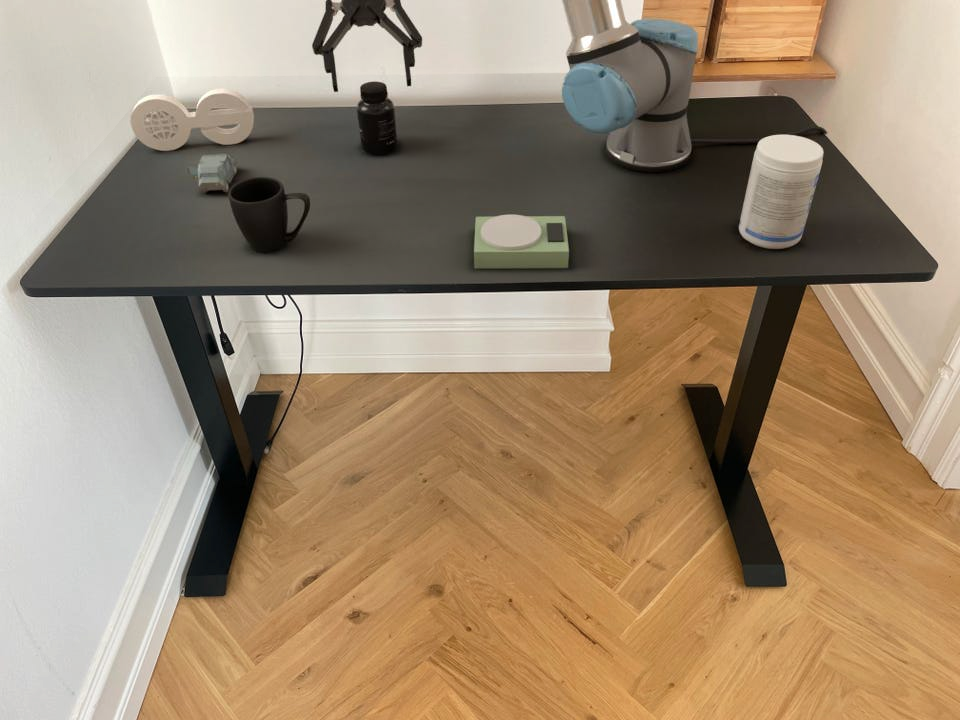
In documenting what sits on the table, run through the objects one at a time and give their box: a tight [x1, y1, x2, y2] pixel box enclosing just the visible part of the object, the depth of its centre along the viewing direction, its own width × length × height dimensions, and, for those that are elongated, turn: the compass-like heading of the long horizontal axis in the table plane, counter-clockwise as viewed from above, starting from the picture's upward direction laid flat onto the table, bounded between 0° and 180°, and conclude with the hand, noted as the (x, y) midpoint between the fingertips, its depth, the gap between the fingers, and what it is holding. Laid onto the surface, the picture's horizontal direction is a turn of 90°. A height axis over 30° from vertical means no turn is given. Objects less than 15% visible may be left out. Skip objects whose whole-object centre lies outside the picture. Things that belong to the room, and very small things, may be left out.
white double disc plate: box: [130, 88, 255, 152], centre depth 147 cm, size 22×2×10 cm, turn 100°
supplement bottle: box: [356, 80, 398, 157], centre depth 144 cm, size 7×7×12 cm
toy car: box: [186, 153, 238, 194], centre depth 137 cm, size 6×10×5 cm, turn 1°
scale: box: [473, 213, 570, 270], centre depth 120 cm, size 14×10×4 cm
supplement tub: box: [738, 134, 824, 250], centre depth 118 cm, size 10×10×15 cm
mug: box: [227, 176, 311, 254], centre depth 120 cm, size 8×12×10 cm
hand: (372, 86), depth 144 cm, fingers open, 13 cm apart
